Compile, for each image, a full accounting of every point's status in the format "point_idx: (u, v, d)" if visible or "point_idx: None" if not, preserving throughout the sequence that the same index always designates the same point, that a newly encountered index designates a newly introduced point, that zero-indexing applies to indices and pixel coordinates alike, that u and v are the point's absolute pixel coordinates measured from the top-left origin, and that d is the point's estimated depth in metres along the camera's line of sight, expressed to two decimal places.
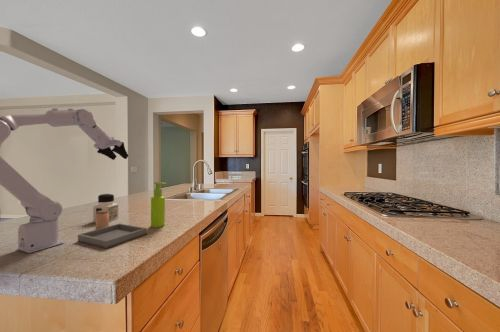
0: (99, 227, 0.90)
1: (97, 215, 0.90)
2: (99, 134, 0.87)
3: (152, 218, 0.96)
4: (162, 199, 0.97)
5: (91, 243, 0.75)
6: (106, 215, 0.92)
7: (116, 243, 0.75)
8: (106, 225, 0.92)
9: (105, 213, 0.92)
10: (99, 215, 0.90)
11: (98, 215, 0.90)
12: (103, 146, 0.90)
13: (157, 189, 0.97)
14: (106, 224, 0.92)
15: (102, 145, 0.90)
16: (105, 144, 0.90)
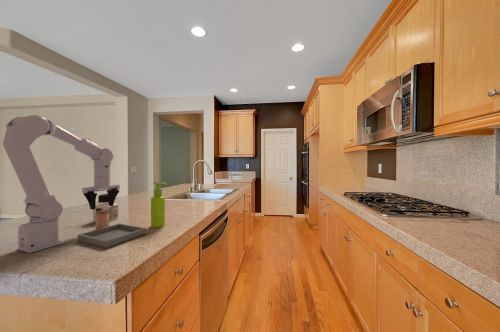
0: (99, 227, 0.90)
1: (97, 215, 0.90)
2: (104, 174, 0.91)
3: (152, 218, 0.96)
4: (162, 199, 0.97)
5: (91, 243, 0.75)
6: (106, 215, 0.92)
7: (116, 243, 0.75)
8: (106, 225, 0.92)
9: (105, 213, 0.92)
10: (99, 215, 0.90)
11: (98, 215, 0.90)
12: (108, 185, 0.92)
13: (157, 189, 0.97)
14: (106, 224, 0.92)
15: (108, 184, 0.92)
16: (109, 184, 0.93)
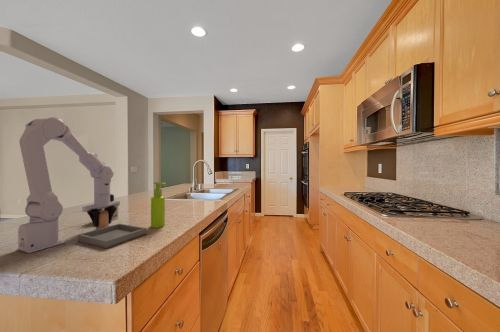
0: (99, 227, 0.90)
1: None
2: (104, 192, 0.91)
3: (152, 218, 0.96)
4: (162, 199, 0.97)
5: (91, 243, 0.75)
6: (106, 215, 0.92)
7: (116, 243, 0.75)
8: (106, 225, 0.92)
9: (105, 213, 0.92)
10: (99, 215, 0.90)
11: None
12: (108, 203, 0.92)
13: (157, 189, 0.97)
14: (106, 224, 0.92)
15: (108, 202, 0.92)
16: (110, 202, 0.94)
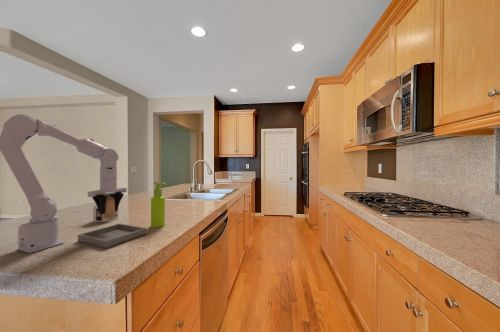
0: (105, 214, 0.84)
1: None
2: (107, 177, 0.84)
3: (152, 218, 0.96)
4: (162, 199, 0.97)
5: (91, 243, 0.75)
6: (112, 201, 0.86)
7: (116, 243, 0.75)
8: (112, 212, 0.86)
9: (111, 199, 0.86)
10: None
11: None
12: (115, 189, 0.86)
13: (157, 189, 0.97)
14: (112, 211, 0.86)
15: (115, 187, 0.86)
16: (116, 187, 0.88)
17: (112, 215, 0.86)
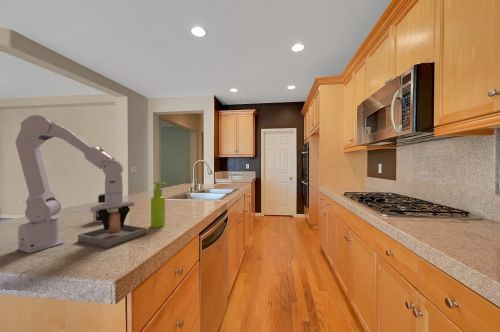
0: (109, 230, 0.80)
1: None
2: (110, 191, 0.79)
3: (152, 218, 0.96)
4: (162, 199, 0.97)
5: (91, 243, 0.75)
6: (116, 216, 0.81)
7: (116, 243, 0.75)
8: (117, 228, 0.81)
9: (115, 214, 0.81)
10: None
11: None
12: (120, 203, 0.81)
13: (157, 189, 0.97)
14: (116, 227, 0.81)
15: (120, 202, 0.81)
16: (122, 202, 0.82)
17: (116, 231, 0.81)
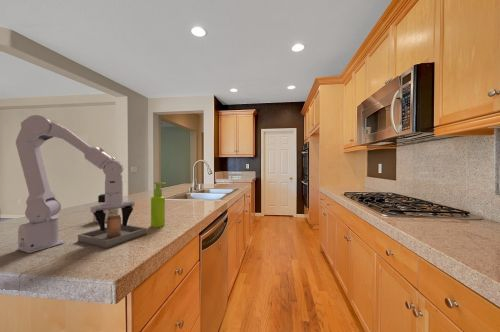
0: (109, 234, 0.80)
1: (107, 220, 0.80)
2: (110, 191, 0.79)
3: (152, 218, 0.96)
4: (162, 199, 0.97)
5: (91, 243, 0.75)
6: (117, 221, 0.81)
7: (116, 243, 0.75)
8: (117, 232, 0.81)
9: (116, 218, 0.81)
10: (109, 221, 0.80)
11: (108, 220, 0.80)
12: (120, 203, 0.81)
13: (157, 189, 0.97)
14: (117, 231, 0.81)
15: (120, 202, 0.81)
16: (122, 202, 0.82)
17: (116, 235, 0.81)
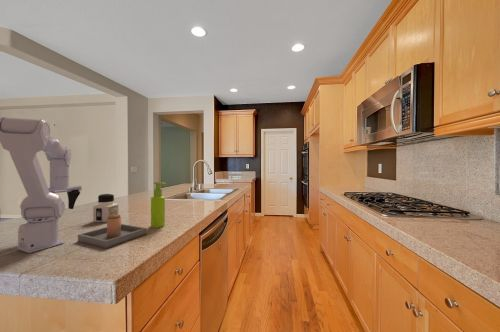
0: (109, 234, 0.80)
1: (107, 220, 0.80)
2: (67, 174, 0.86)
3: (152, 218, 0.96)
4: (162, 199, 0.97)
5: (91, 243, 0.75)
6: (117, 220, 0.81)
7: (116, 243, 0.75)
8: (117, 232, 0.81)
9: (116, 218, 0.81)
10: (109, 221, 0.80)
11: (108, 220, 0.80)
12: (66, 187, 0.85)
13: (157, 189, 0.97)
14: (117, 231, 0.81)
15: (66, 185, 0.85)
16: (68, 185, 0.86)
17: (116, 235, 0.81)
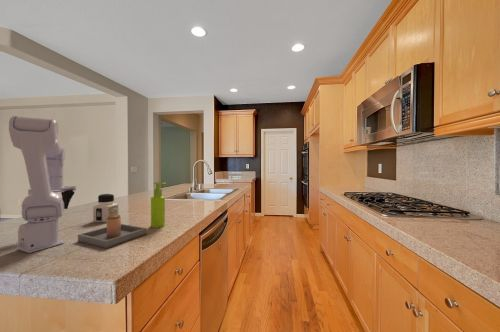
0: (109, 234, 0.80)
1: (107, 220, 0.80)
2: (62, 174, 0.86)
3: (152, 218, 0.96)
4: (162, 199, 0.97)
5: (91, 243, 0.75)
6: (117, 221, 0.81)
7: (116, 243, 0.75)
8: (117, 232, 0.81)
9: (116, 218, 0.81)
10: (109, 221, 0.79)
11: (108, 220, 0.80)
12: (60, 187, 0.86)
13: (157, 189, 0.97)
14: (117, 231, 0.81)
15: (60, 185, 0.86)
16: (62, 185, 0.87)
17: (116, 235, 0.81)
